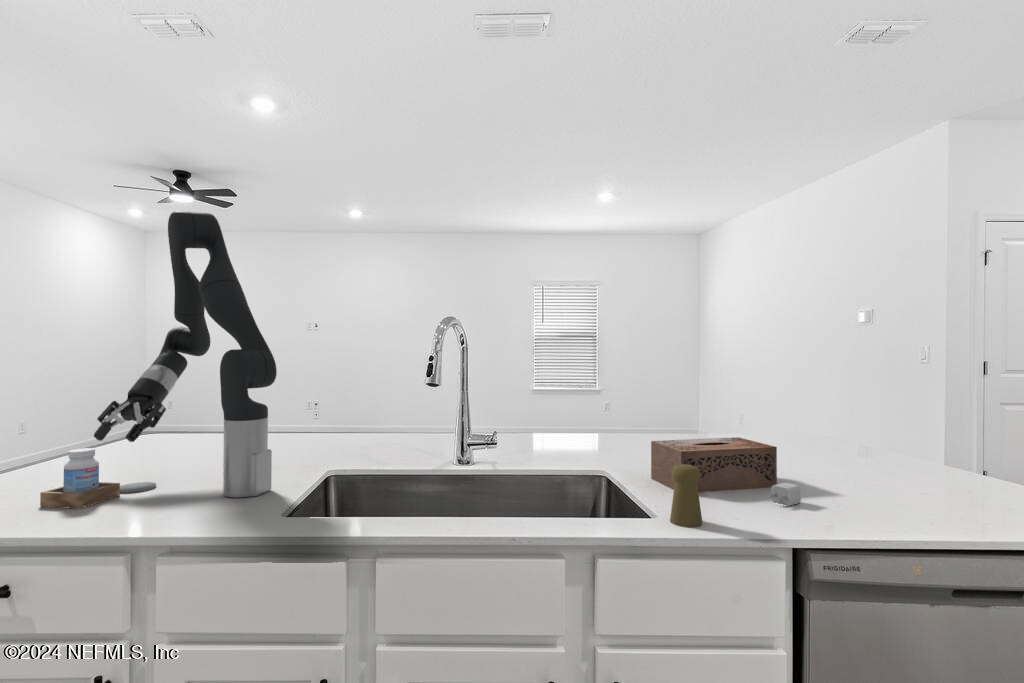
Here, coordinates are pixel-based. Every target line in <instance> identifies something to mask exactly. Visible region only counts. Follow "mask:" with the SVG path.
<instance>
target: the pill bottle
mask: <svg viewBox="0 0 1024 683" xmlns="http://www.w3.org/2000/svg"><path fill="white" fill-rule="evenodd" d="M67 452H68V454H67V456H68V459H69V460H68V461H66V462H65V464H64V466H63V484H62V485H63V486H62V487H63V492H65V493H83V492H86V491H90V490H93V489H97V488H99V482H100V476H99V475H100V462H99V460H98V459H97V458H95V455H96V448H93V447H91V448H90V447H89V448H87V447H86V448H76V449H70V450H68V451H67Z"/></svg>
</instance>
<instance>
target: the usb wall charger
mask: <svg viewBox="0 0 1024 683" xmlns="http://www.w3.org/2000/svg"><path fill="white" fill-rule="evenodd" d="M770 489H771V491H770V492H771V494H768V499H771V502H772V503H773V502H774V503H778V504H783V505H786V506H788V507H791V506H790V505H792V506H795V505H794V504H796V505H799V504H801V501H802V499H801V498H802V496H801V494H802V492H801V490H802V489H801V486H800V485H798V484H794V483H790V482H789V483H788V482H781V483H777V485H773V486H772V487H771V488H770ZM774 503H773V504H774ZM798 503H799V504H798ZM778 504H777V505H778ZM786 506H785V507H786Z"/></svg>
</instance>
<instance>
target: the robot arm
mask: <svg viewBox="0 0 1024 683" xmlns="http://www.w3.org/2000/svg"><path fill="white" fill-rule="evenodd" d="M167 238H168V245H169V254H170V263H171V268H172V269H171V270H172V276H173V284H174V301H173V302H174V304H173V305H174V307H173V308H174V309H173V310H174V311H173V313H174V314H173V316H174V319H175V320H176V321H177V322H179V323H180V324H182V325H184V326H175V327H173V328H171V329H170V330H169V331H168V332H167V334H166V336H165V340H164V343H163V345H162V347H161V350H160V351H159V354H158V356H157V357H156V358H155V360H154V361H153V363H151V365H150V366H149V367H148V368H147V369H146V370H145V371H143V373H142V374H141V376H140V377H139V378H138V379H137V380H136V382H135V383H134V384H133V385H132V387H131V388H130V389H129V390H128V392H127V398H126V400H125V401H123V402H122V403H119V402H118V401H117V400H113V401H111V402H110V404H108V406H107V407H105V409H104V410H103V411H102V413H101V414H100V415H98V417H97V419H96V420H97V421H98V422H99V423H100V425H99V427H98V428H97V430H95V432H94V434H93V437H94V439H96V440H97V441H103V440H104V439H105V438H106V437H107V435H108V434H109V433H110V432H111V430H112V428H114V427H115V426H117V425H118V424H120V425H121V424H124V423H125V422H126V421H127V422H129V421H134V422H136V423H134V424H133V426H132V427H131V428H130V430H129V431H128V432H127V433H126V435H125V439H126V440H127V441H128V442H129V443H133V442H135V441H136V440H137V439H138V438H139V436H140V435H141V434H142V433H143V431H145V430H146V429H147V428H151V429H153V428H155V427H156V425H157V424H158V423H159V422H160V420H161V419H162V417H163V415H164V414H165V413H166V410H167V408H166V407H165V405H164V404H163V402H164V400H166V397H168V395H170V392H171V391H172V389H173V388H174V387H175V385H176V383H177V381H178V380H179V379H180V377H181V376H182V374H183V373H184V371H185V370H186V369H187V366H188V360H187V358H186V357H185V356H184V355H182V354H185V355H190V356H193V357H201V356H204V355H206V353H208V351H209V350H210V348H211V335H210V331H209V328H208V325H207V319H206V317H205V311H206V313H207V314H208V316H209V317H210V318H211V320H213V321H214V322H215V323H216V324H217V325H218V326H219V327H221V328H222V329H223V330H224V331H226V332H227V333H228V334H229V335H230V336H231V337H232V338H233V339H234V340H235V342H236V343H237V344H238V346H239V347H240V349H239V348H238V349H229V350H227V351H226V352H225V353H223V356H222V358H221V360H220V366H219V379H220V402H221V408H222V412H223V464H222V466H223V467H222V468H223V472H222V474H223V475H222V477H223V481H222V483H223V488H222V490H223V491H222V492H223V493H222V494H223V496H224V497H227V498H246V497H257V496H259V495H262V494H264V493H266V492H268V491H271V490H272V467H273V466H272V465H273V464H272V462H273V461H272V452H273V451H272V449H270V448H269V445H268V442H269V438H268V437H269V434H268V433H269V430H268V429H269V408H268V406H267V405H266V404H264V403H261V402H257V401H255V400H253V399H251V397H250V396H249V389H261V388H267V387H270V386H272V385H273V384H274V382H276V378H277V375H278V374H277V371H278V370H277V364H276V360H275V358H274V357H275V356H274V355H273V353H272V350H271V349H270V347H269V345H268V344H267V342H266V339H265V338H264V335H263V334H262V332H261V330H260V329H259V326H258V324H257V323H256V320H255V318H254V316H253V313H252V311H251V308H250V306H249V304H248V302H247V301H248V300H247V297H246V295H245V292H244V290H243V288H242V285H241V283H240V281H239V279H238V276H237V273H236V271H235V269H234V267H233V264H232V262H231V259H230V255H229V252H228V249H227V245H226V242H225V239H224V234H223V231H222V229H221V225H220V223H219V221H218V219H217V217H216V216H215V215H214V214H212V213H209V212H205V211H202V212H201V211H188V210H187V211H185V210H183V211H182V210H175V211H172V212H171V213H170V215H169V217H168V221H167ZM187 249H205V250H206V251H207V252H208V254H209V260H208V263H207V266H206V268H205V270H204V272H203V274H202V276H201V278H200V280H199V279H198V277H197V276H196V275H195V273H194V271H193V270H192V268H191V266H190V264H189V262H188V259H187V254H186V251H187ZM119 414H120V416H121V417H120V416H119ZM114 419H115V420H114Z"/></svg>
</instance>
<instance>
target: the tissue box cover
mask: <svg viewBox="0 0 1024 683" xmlns="http://www.w3.org/2000/svg"><path fill="white" fill-rule="evenodd" d="M777 451H778V449H777V446H774V445H771V444H767V443H762V442H758V441H755V440H751V439H746V438H742V437H739V436H737V437H714V438H713V437H712V438H710V437H709V438H690V439H670V440H669V439H667V440H665V439H664V440H651V441H650V455H651V456H650V460H651V461H650V466H651V467H650V473H651V474H650V476H651V477H650V479H651V480H653V481H655V482H657V483H659V484H661V485H662V486H665V487H667V488H669V489H670V490H672V491H674V487H675V481H674V479H673V477H672V471H673V468H674V467H675V466H676V465H682V464H686V465H692V466H695V467H697V468H698V469H699V471H700V479H699V482H698V483H697V486H698V493H711V492H723V491H724V492H725V491H741V490H755V489H769V488H770V489H771V487H772V486H773V485H777V484H778V481H777V480H778V477H777V476H778V473H777V472H778V471H777V470H778V469H777V468H778V466H777V465H778V464H777V462H778V461H777V460H778V459H777V458H778V455H777V454H778V452H777Z"/></svg>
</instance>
